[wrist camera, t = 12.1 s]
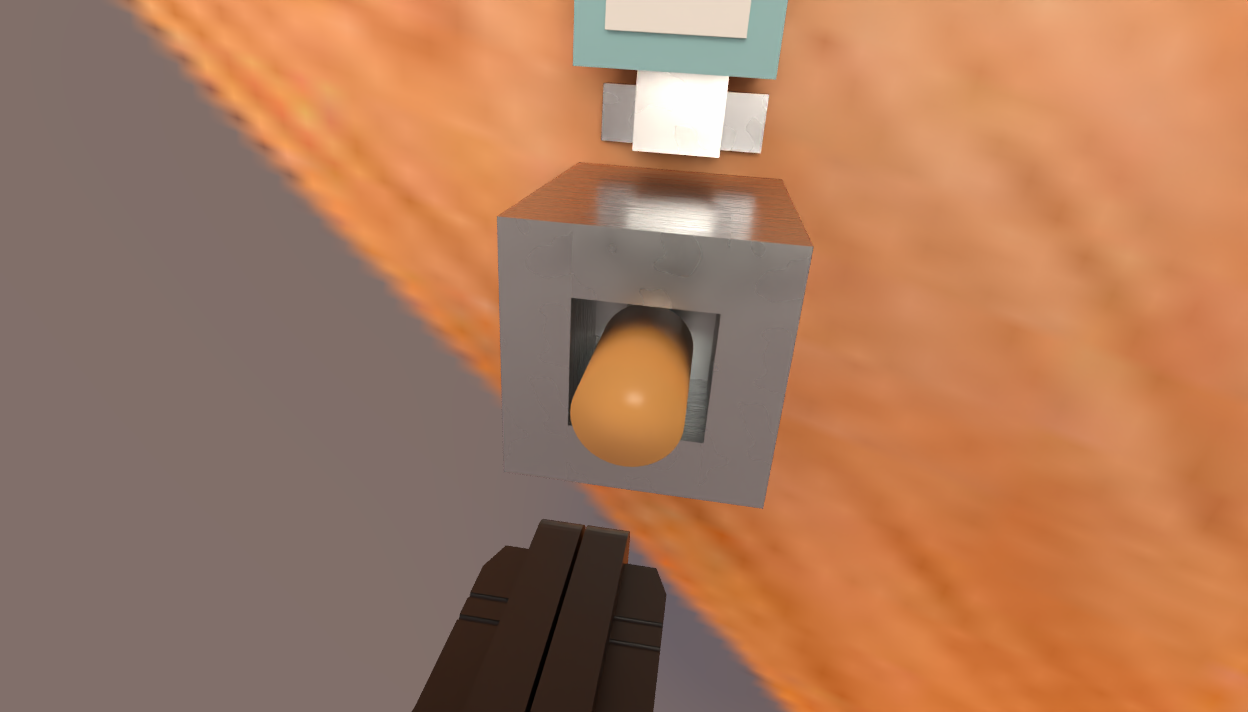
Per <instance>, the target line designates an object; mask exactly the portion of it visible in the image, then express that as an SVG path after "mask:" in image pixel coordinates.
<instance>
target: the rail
mask: <svg viewBox="0 0 1248 712" xmlns="http://www.w3.org/2000/svg"><path fill="white" fill-rule="evenodd" d="M728 81H729V76H717V75H703V74H688V73H673V72H659V71H644V70H637V84H636V85H634V84H620V83H604V86H603V110H602V134H601V140H603V141H616V142H628V143H633V148H632V151H643V152H655V153H667V154H679V155H692V156H704V157H716V158H719V156H720V150H727V151H739V152H752V153H761V147H762V140H763V134H764V127H765V120H766V113H767V106H768V99H769V94H761V93H747V92H733V91H727V89H728Z"/></svg>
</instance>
